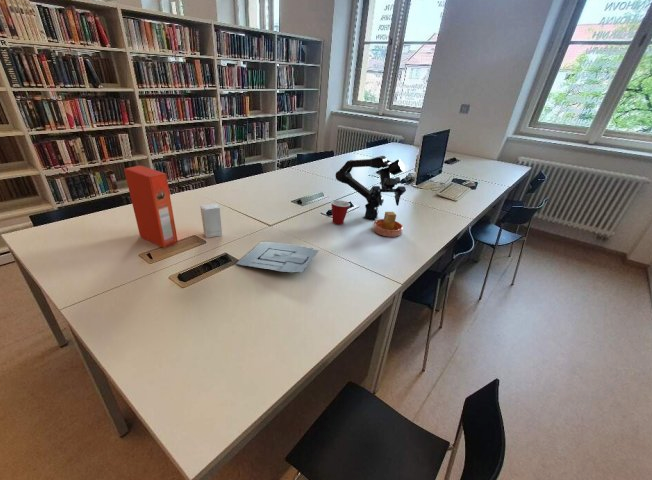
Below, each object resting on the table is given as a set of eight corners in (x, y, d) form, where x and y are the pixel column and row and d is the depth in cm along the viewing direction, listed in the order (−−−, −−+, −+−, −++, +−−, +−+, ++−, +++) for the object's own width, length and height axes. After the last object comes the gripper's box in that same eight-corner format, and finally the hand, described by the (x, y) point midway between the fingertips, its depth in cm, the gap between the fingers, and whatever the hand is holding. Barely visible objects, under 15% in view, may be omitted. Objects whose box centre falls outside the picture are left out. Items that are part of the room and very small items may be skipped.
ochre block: (384, 232, 172) (388, 215, 167) (381, 228, 176) (385, 211, 171) (392, 232, 173) (396, 214, 168) (389, 228, 177) (393, 211, 172)
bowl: (369, 233, 171) (370, 226, 169) (376, 223, 183) (378, 216, 181) (398, 240, 166) (399, 233, 164) (403, 229, 178) (405, 223, 176)
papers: (300, 280, 126) (299, 272, 124) (235, 269, 137) (234, 262, 135) (320, 254, 146) (320, 246, 144) (262, 246, 156) (261, 239, 154)
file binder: (162, 248, 144) (149, 177, 127) (139, 237, 151) (123, 168, 134) (177, 242, 149) (166, 173, 133) (154, 231, 157) (141, 165, 140)
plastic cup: (350, 221, 183) (353, 201, 177) (343, 228, 174) (346, 207, 168) (332, 217, 187) (334, 197, 180) (325, 223, 178) (327, 203, 172)
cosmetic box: (219, 231, 162) (217, 203, 154) (222, 236, 157) (220, 207, 150) (203, 233, 159) (199, 204, 151) (205, 238, 154) (202, 209, 146)
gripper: (375, 170, 164) (378, 198, 161) (408, 171, 167) (413, 199, 164) (367, 181, 175) (370, 207, 172) (399, 181, 178) (403, 207, 175)
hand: (389, 205), depth 170 cm, fingers open, 9 cm apart
